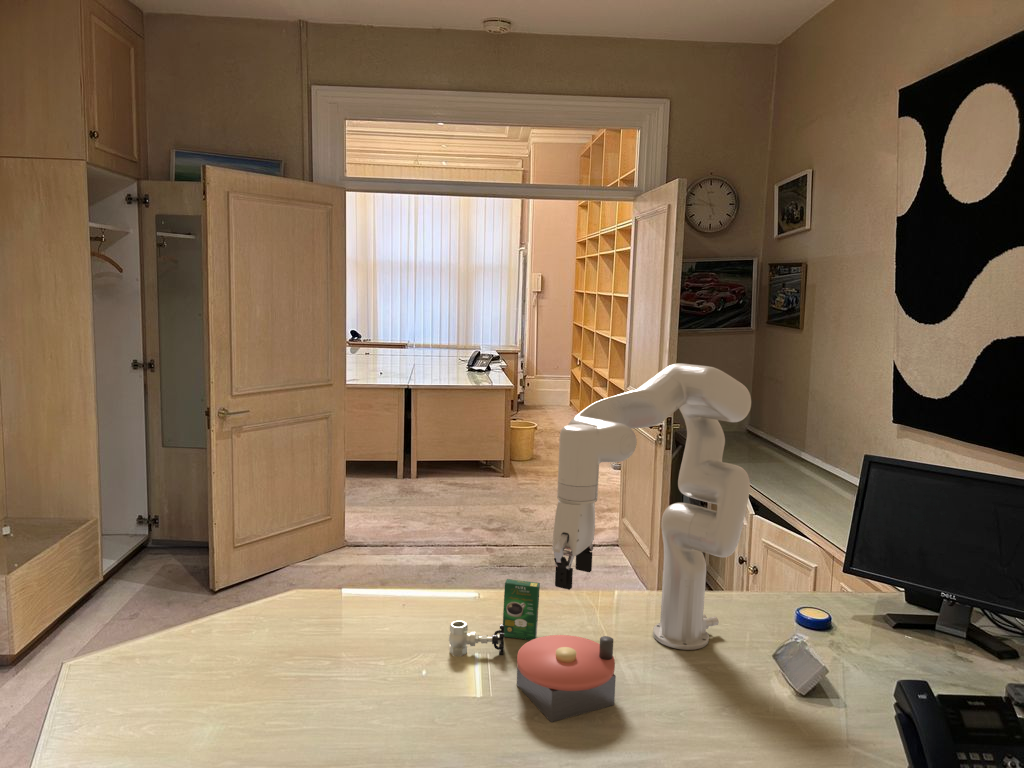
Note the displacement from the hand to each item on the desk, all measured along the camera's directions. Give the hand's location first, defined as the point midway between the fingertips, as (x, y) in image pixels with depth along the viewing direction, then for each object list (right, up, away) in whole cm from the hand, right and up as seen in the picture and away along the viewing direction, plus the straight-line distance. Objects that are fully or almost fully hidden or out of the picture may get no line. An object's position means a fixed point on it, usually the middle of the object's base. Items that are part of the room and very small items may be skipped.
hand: (573, 578), depth 139 cm
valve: (-20, -22, +21) cm, 36 cm away
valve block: (-1, -24, +5) cm, 25 cm away
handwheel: (-1, -18, +4) cm, 19 cm away
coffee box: (-10, -21, +29) cm, 37 cm away
